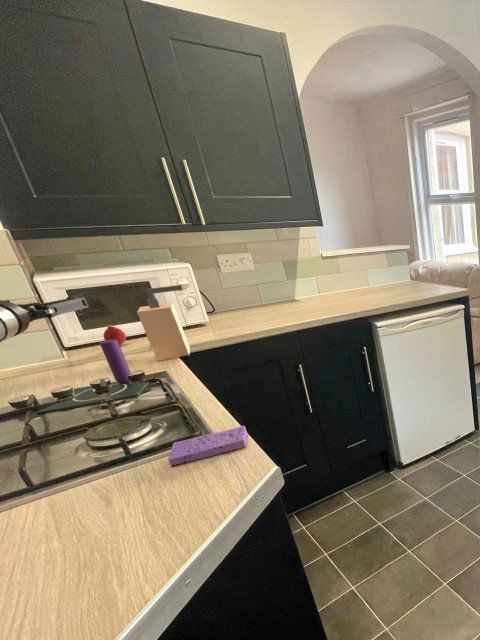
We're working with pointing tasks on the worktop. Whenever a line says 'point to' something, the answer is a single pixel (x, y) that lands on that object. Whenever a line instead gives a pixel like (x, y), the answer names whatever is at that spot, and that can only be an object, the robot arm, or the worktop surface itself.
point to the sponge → (207, 445)
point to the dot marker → (116, 360)
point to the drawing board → (97, 396)
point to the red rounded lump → (114, 334)
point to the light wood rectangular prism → (163, 326)
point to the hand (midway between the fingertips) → (47, 301)
